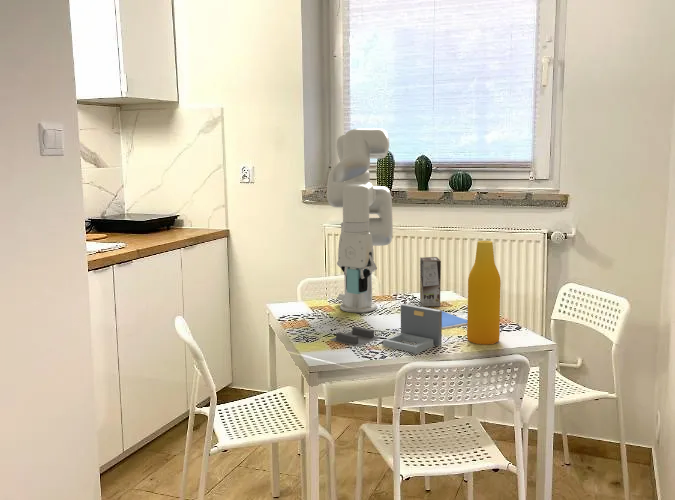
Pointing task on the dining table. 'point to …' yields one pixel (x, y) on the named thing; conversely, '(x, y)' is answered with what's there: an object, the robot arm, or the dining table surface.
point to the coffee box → (430, 281)
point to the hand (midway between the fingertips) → (356, 289)
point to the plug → (353, 280)
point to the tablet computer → (452, 321)
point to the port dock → (417, 329)
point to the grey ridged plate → (356, 337)
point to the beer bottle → (484, 297)
